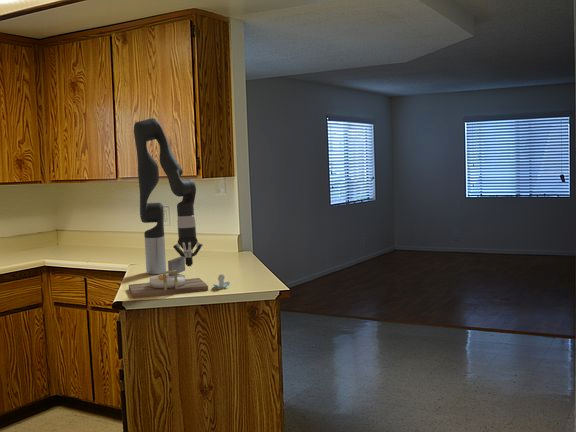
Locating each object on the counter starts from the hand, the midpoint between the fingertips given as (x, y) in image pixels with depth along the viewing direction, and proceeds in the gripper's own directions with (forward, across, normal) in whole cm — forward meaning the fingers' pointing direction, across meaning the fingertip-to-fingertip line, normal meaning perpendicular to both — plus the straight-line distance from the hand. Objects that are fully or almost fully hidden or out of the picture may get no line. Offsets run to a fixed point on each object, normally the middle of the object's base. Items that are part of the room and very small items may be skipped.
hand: (189, 266), depth 282 cm
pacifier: (+8, +15, -10) cm, 20 cm away
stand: (+7, -6, -13) cm, 16 cm away
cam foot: (+5, -6, -9) cm, 12 cm away
